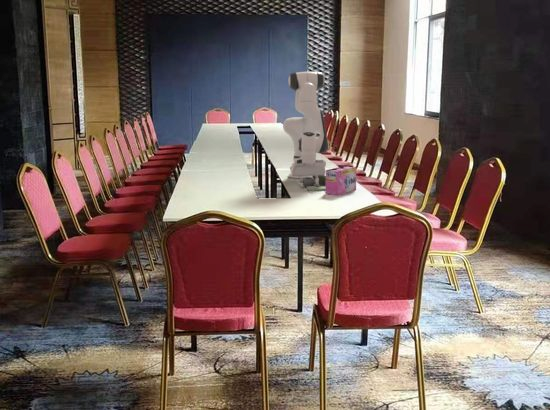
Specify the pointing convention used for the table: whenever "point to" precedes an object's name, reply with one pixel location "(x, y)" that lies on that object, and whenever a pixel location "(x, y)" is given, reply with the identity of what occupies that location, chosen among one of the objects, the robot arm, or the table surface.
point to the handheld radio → (321, 180)
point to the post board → (312, 188)
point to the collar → (308, 181)
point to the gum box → (340, 180)
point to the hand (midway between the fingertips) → (308, 182)
